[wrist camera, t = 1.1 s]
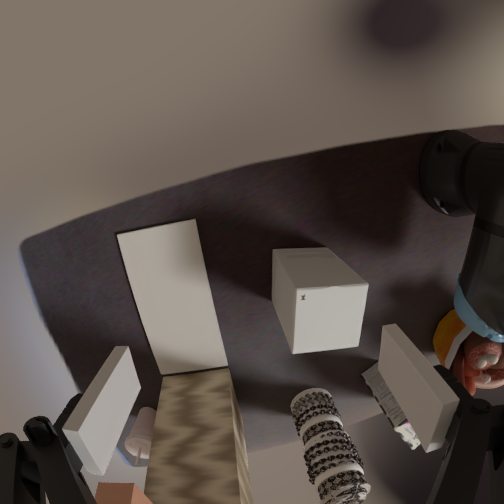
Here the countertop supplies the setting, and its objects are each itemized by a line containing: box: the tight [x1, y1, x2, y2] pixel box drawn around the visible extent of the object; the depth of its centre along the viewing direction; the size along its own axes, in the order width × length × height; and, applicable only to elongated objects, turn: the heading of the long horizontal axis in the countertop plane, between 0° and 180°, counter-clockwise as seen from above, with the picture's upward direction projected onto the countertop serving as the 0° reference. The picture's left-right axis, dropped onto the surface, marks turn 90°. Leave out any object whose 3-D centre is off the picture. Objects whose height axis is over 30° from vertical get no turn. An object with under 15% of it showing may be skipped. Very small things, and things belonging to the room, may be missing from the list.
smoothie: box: [125, 407, 157, 466], centre depth 50 cm, size 6×6×14 cm
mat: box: [117, 219, 228, 375], centre depth 50 cm, size 12×26×1 cm, turn 9°
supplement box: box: [272, 247, 368, 354], centre depth 43 cm, size 9×9×15 cm
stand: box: [144, 368, 253, 504], centre depth 42 cm, size 13×15×30 cm
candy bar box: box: [361, 361, 421, 449], centre depth 52 cm, size 11×5×16 cm, turn 39°
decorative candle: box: [290, 388, 371, 504], centre depth 47 cm, size 9×9×25 cm
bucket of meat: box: [433, 309, 504, 396], centre depth 49 cm, size 20×16×20 cm
